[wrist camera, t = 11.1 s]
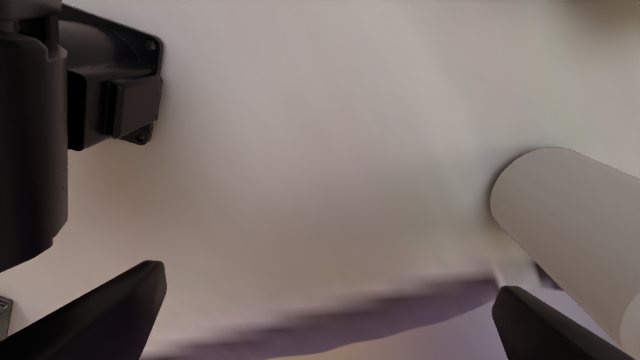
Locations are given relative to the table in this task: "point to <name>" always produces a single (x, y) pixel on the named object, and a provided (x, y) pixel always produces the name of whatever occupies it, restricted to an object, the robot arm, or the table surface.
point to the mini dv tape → (4, 317)
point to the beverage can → (579, 232)
